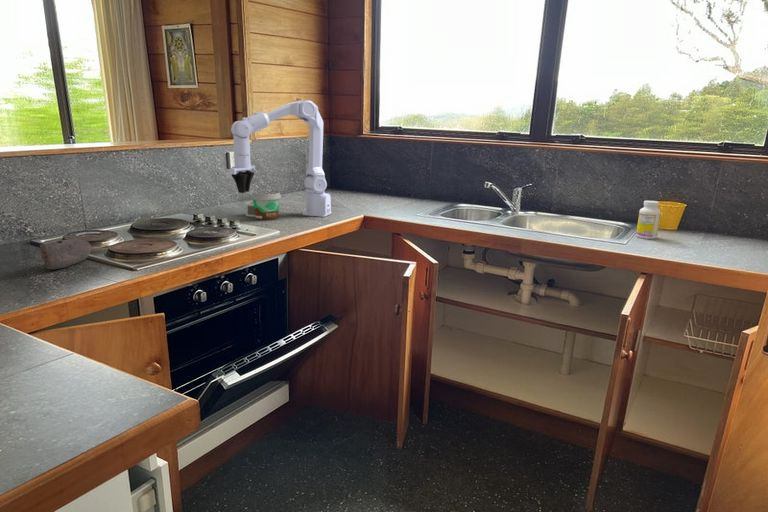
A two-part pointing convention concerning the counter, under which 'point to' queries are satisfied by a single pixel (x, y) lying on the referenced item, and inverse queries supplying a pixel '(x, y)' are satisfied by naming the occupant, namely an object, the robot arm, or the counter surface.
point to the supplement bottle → (648, 220)
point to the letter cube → (250, 209)
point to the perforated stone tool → (64, 253)
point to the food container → (266, 206)
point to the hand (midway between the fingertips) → (243, 192)
